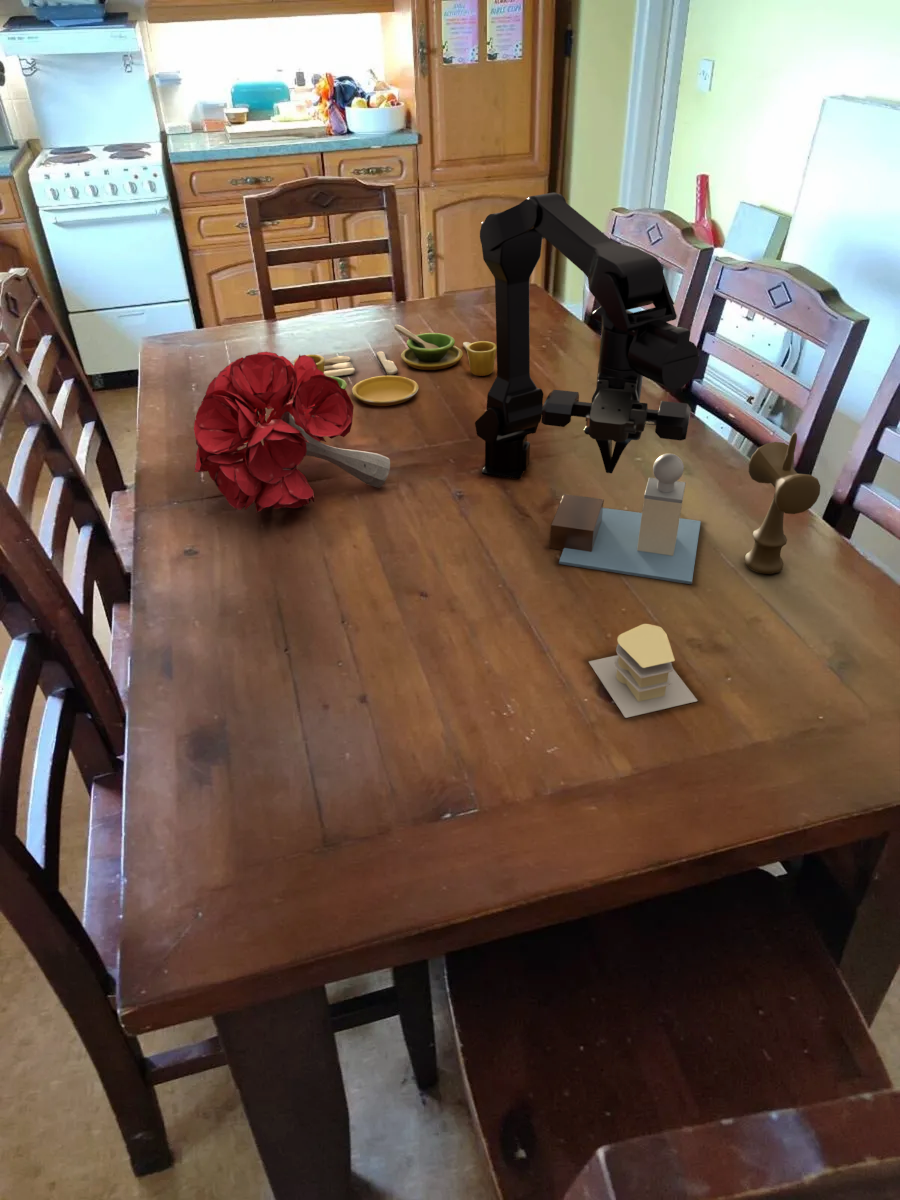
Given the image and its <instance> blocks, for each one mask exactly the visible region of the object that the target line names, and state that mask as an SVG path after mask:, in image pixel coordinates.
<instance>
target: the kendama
mask: <svg viewBox="0 0 900 1200" xmlns="http://www.w3.org/2000/svg"><path fill="white" fill-rule="evenodd" d="M797 441H798V434H797V432H793V433H792V434H791V436H790V440H789V442H788V444H787V443H785V442H782V441H781V442H780V441H773V442H768V443H765V444H763V445H761V446H759V447H758V448H757V449H756V450H755V451H754V452H753V453H752V455H751V457H750V460H749V462H748V474H749V476H750V478H751V480H753V481H755V482H756V483H760V484H771V485H772V487H774V495H773V498H772V501H771V503H770V505H769V508H768V510H767V514H766V515H765V517H764V519H763V522H762V523H761V525H760V527H759V528H757V529H755V530H753V533H752V538H753V541H754V543H753V546H752V548H751V550H750V551H748V552H746V554H745V556H744V562H745V565H746V566H747V567H748V568H749V569H750V570H751V571H753V572H756V573H759V574H763V575H772V574H776V573H779V572H781V571H782V570H783V569H784V565H785V564H784V563H785V562H784V561H783V559H782V556H781V552H782V549H783V547H784V546H786V545H787V543H788V538H787V536H786V534H785V532H784V519H785V517H784V516H785V515H784V514H789V515H796V514H800V513H804V512H807V511H808V510H809V509H811V508H812V507H813V506H814V505H815V504H816V503H817V501H818V499H819V497H820V494H821V484H820V482H819V479H818V478H817V477H815V476H813V475H812V474H808V473H807V474H806V473H798V472H797V471H796V470H795V469H794V464H795V452H796V447H797Z"/></svg>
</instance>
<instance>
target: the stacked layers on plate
mask: <svg viewBox="0 0 900 1200" xmlns="http://www.w3.org/2000/svg"><path fill="white" fill-rule="evenodd" d="M615 652H616V655H611V656H607V657H603V658H598V659H594V660H588V663H589V665H590V666H591V668H592V669H593V671H594V672H595V674H596V675H597V677H598V679H599V680H600V682H601V684H602V685H603V687H604V688H605V690H606V691H607V693H608V694H609V696H610V697H611V698H612V700H613V701H614V703H615V704H616V706H617V707H618V709H619V711H620V712H621V714H622V715H623V717H624V718H625V719H627V718H631V717H636V716H640V715H644V714H649V713H653V712H657V711H662V710H665V709H670V708H674V707H679V706H682V705H686V704H690V703H691V704H692V703H696V702H698V701H699V700H698V699H697V698H696V696H695V695H694V694H693V692H692V691H691V690H690V689H689V687H688V686H687V685H686V683H685V682H684V680H682V678H681V677H680V676H679V675H678V672H677V671H676V670H675V669H674V667H673V663H672V662H675V660H676V659H675V656H674V653H673V650H672V647H671V643H670V640H669V636H668V635H667V632H666V631H665V630H664V629H663V628H662V626H659V625H654V624H650V623H642V624H640V625H638V626H635V627H633V628H631V629H628V630H626V631H624V632H622V633H621V634H619V635H618V636H617V645H616V648H615Z"/></svg>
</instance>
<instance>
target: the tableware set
mask: <svg viewBox="0 0 900 1200" xmlns="http://www.w3.org/2000/svg"><path fill="white" fill-rule="evenodd" d="M393 329H394V330H395V331H396V332H397V333H399V334H401V335H403V336H405V337H406V338H408V339H407V340H406V346H407V347H408V348H406V349H404V350H403V351H402V352H401V354H400V358H401V360H402V361H403V362H404V363H406V365H407V366H409V367H411V368H414V369H417V370H425V371H436V370H442V369H443V370H444V369H447V368H450V367H453V366H454V365H456V364H457V363H458V362H459V361H460V360H461V359H462V357H463V355H464V354H463V353H464V352H463V350H462V349H461V348H459V347H457V346H456V345H455V343H456V341H455V338H454V337H452V336H451V335H449V334H445V333H441V332H440V333H439V332H426V333H420V334H415V333H413V332H411V331H410V330H408V329H407V328H406V327H404V326H403V325H400V324H394V326H393ZM463 348H464V349H465V350H466V354H467V358H468V359H467V360H468V363H469V364H468V365H469V371H470V373H471V374H472V375H474V376H480V377H481V376H482V377H484V376H489V375H491V374H492V373H493V372H494V368H495V361H496V356H497V345H496V343H494V342H491V341H487V340H486V341H485V340H482V341H475V342H472V343H471V342H469V341H464V342H463ZM305 355H306V356H309V357H312V358H314V360H315V362H316V365H317V367H316V368H317V369H319V370H320V371H322V372H323V373H324V374H325V375H326V376H328V377H331V378H333V379H335V380H337V381H338V384H339V386H340V387H341V388H343V389H345V390H346V389H347V386H348V384H347V382H346V380H344V379H342V378H341V377H343V376H351V375H355V373H356V369H355V367H354V366H353V364H352V361H351V357H349V356H348V355H337V356H334V357H331V358H329V359H328V358H327V359H325V357H324V356H322V355H320V354H305ZM376 355H377V358H378V360H379V362H380V364H381V366H382V367H383V369H384V372H385V373H386V375H379V376H378V375H377V376H372V377H368V378H366V379H363V380H360V381H358V382H357V383H356V384H355V385H354V386H352V389H351V393H352V395H353V396H354V397H355V398H356V399H357V400H358V401H360V402H361V403H363V404H366V405H370V406H377V407H383V406H384V407H387V406H388V407H389V406H394V405H395V406H396V405H399V404H403V403H405V402H407V401H409V400H411V399H412V398H413V397H414V396H415V395H417V393H418V391H419V384H418V383H417V382H416V381H415V380H413V379H411V378H408V377H404V376H402V375H401V376H399V375H395V374H398V371H399V369H398V368H397V366H396V364H395V362H394V361H392V360H389V359H387V357H386V354H385V352H384V351H377V352H376ZM297 358H298V357H296V358H295V359H294V360H293V363H292V364H293V366H294V363H295V362H296V360H297Z"/></svg>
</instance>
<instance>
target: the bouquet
mask: <svg viewBox="0 0 900 1200" xmlns="http://www.w3.org/2000/svg"><path fill="white" fill-rule="evenodd" d="M306 355H307V354H302V355H301V354H299V355H298V356H297V357H296V358H297V360H296V362H295V363H294V362H293V363H292V362H291V361H290V360H289V358H286V357H285V356H284V355H279V354H278V353H276V352H271V351H260V352H257V353H252V354H248V355H245V357H239V358H236V360H234V361H232V362H230V363H229V364H228V365H226V366H225V367H224V368H223V369H222V370H220V371H219V373H218V374H217V376H215V377H214V378H213V379H212V380H211V382H210V383H209V384H208V386H207V389H206V391H205V395H204V396H203V399H202V400H201V402H200V403H201V404H200V405H199V406H198V409H197V411H196V414H195V420H194V425H193V433H194V437H195V444H196V446H197V450H196V453H195V459H196V460H195V464H194V469H195V470H194V473H206V472H208V476H209V478H210V479H211V480H212V481H213V482H214V483H215V486H216V487H217V489H218V491H219V492H220V493H221V494H222V496H223V497H224V498H225V500H226V501H227V503H228V505H229V506H231V507H232V508H234V509H235V510H239V511H241V510H242V509H244V511H246V510H247V509H248V508H249V507H250V506H252V504H254V506H255V511H256V513H258V512H261V511H262V510H264V509H265V510H266V509H267V508H269V509H283V508H290V509H299V508H302V507H304V506H309V505H310V504H311V502H313V503H315V496H314V490H313V489H312V487H311V486H310V483H309V481H308V479H307V477H306V476H305V474H303V473H302V472H301V471H300V470H299V469H298V468H297V467H299V466H300V464H301V463H302V461H303V460H304V458H305V457H313V458H318V459H321V460H323V461H324V460H325V461H326V462H329V463H331V464H333V465H335V466H337V467H338V468H340V469H342V470H343V471H345V472H346V473H348V474H350V475H352V476H353V477H354V478H356V479H357V480H359V481H361V482H362V483H364V484H365V485H368V486H371V487H374V488H378V489H379V488H382V487H383V485H384V484H385V482H386V481H387V478H388V476H389V473H390V469H391V460H390V458H389V457H387V456H385V455H383V454H380V453H377V452H371V451H365V450H358V449H348V448H339V447H335V446H332V445H328V444H325V443H327V441H326V439H325V437H327V438H329V439H334V438H336V437H338V436H340V437H342V438H345V437H346V436H347V435H348V434H350V433H351V429H352V426H353V418H354V408H355V406H354V403H353V400H352V399H351V397H350V395H349V394H348V391H347V390H346V389H343V388H341V387H340V386H339V384H338V381H337V380H335V379H333V378H331V377H328V376H326V375H325V374H324V373H323V372H322V371H320V370H319V369H317V368H316V367H317V365H316V362H315V360H314V358H312V357H309V356H306ZM293 364H294V366H293ZM266 409H267V410H271V411H270V412H269V415H268V416H267V413H268V412H267V410H266ZM266 416H267V418H266ZM262 441H263V443H262ZM323 442H324V443H323Z"/></svg>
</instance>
